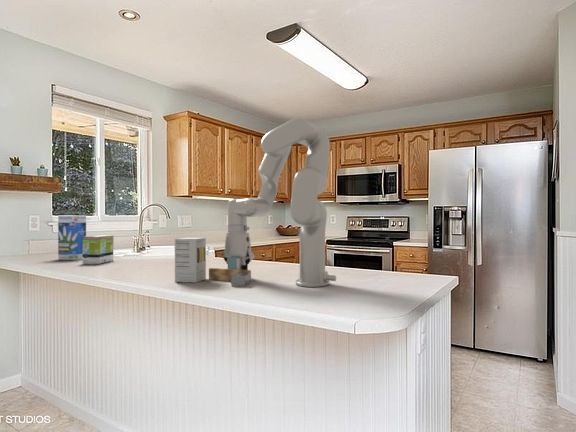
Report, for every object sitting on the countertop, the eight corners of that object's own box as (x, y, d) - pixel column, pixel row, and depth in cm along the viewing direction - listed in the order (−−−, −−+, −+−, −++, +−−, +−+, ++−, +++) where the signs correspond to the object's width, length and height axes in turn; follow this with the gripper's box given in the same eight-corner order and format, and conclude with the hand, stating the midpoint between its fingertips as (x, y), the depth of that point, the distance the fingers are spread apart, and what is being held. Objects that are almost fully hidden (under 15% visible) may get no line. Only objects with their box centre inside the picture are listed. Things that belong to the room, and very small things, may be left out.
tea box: (100, 264, 202) (100, 236, 202) (81, 264, 202) (81, 236, 202) (114, 260, 217) (113, 234, 217) (96, 260, 217) (96, 234, 217)
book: (247, 277, 157) (246, 255, 157) (237, 280, 150) (236, 257, 150) (238, 277, 159) (238, 255, 159) (228, 280, 151) (227, 257, 151)
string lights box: (57, 259, 222) (57, 215, 222) (67, 258, 230) (66, 215, 230) (78, 260, 220) (77, 215, 220) (87, 258, 228) (86, 215, 228)
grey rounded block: (250, 283, 146) (250, 272, 146) (244, 287, 138) (244, 276, 138) (237, 282, 147) (237, 272, 146) (231, 286, 139) (231, 275, 139)
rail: (250, 281, 147) (250, 270, 147) (249, 282, 146) (249, 270, 146) (210, 278, 154) (210, 267, 154) (208, 279, 153) (208, 268, 153)
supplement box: (196, 283, 146) (196, 238, 145) (174, 282, 147) (173, 238, 147) (206, 278, 155) (206, 237, 155) (185, 278, 157) (185, 237, 157)
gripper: (260, 229, 154) (260, 274, 154) (224, 228, 161) (224, 271, 161) (251, 230, 147) (251, 276, 147) (214, 229, 154) (214, 274, 154)
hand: (237, 273), depth 154 cm, fingers open, 5 cm apart
